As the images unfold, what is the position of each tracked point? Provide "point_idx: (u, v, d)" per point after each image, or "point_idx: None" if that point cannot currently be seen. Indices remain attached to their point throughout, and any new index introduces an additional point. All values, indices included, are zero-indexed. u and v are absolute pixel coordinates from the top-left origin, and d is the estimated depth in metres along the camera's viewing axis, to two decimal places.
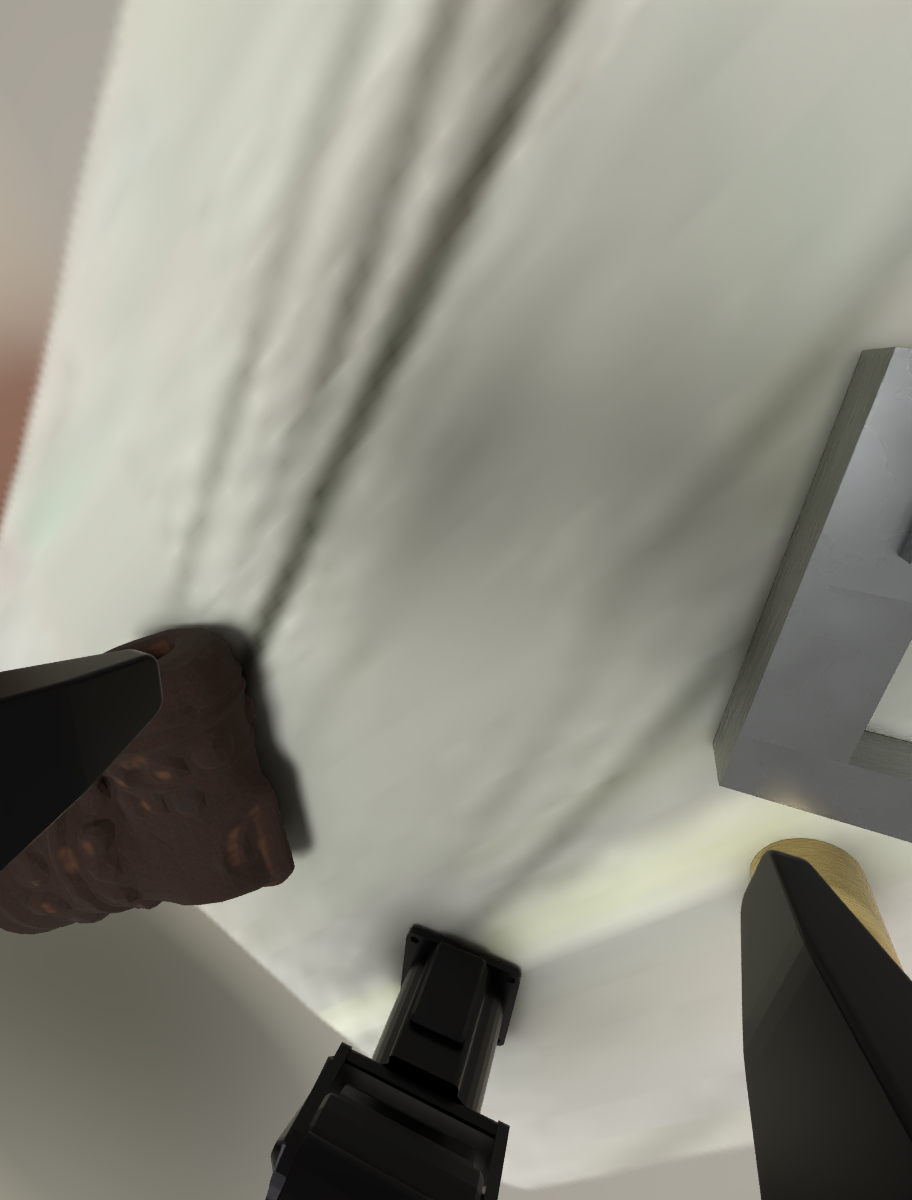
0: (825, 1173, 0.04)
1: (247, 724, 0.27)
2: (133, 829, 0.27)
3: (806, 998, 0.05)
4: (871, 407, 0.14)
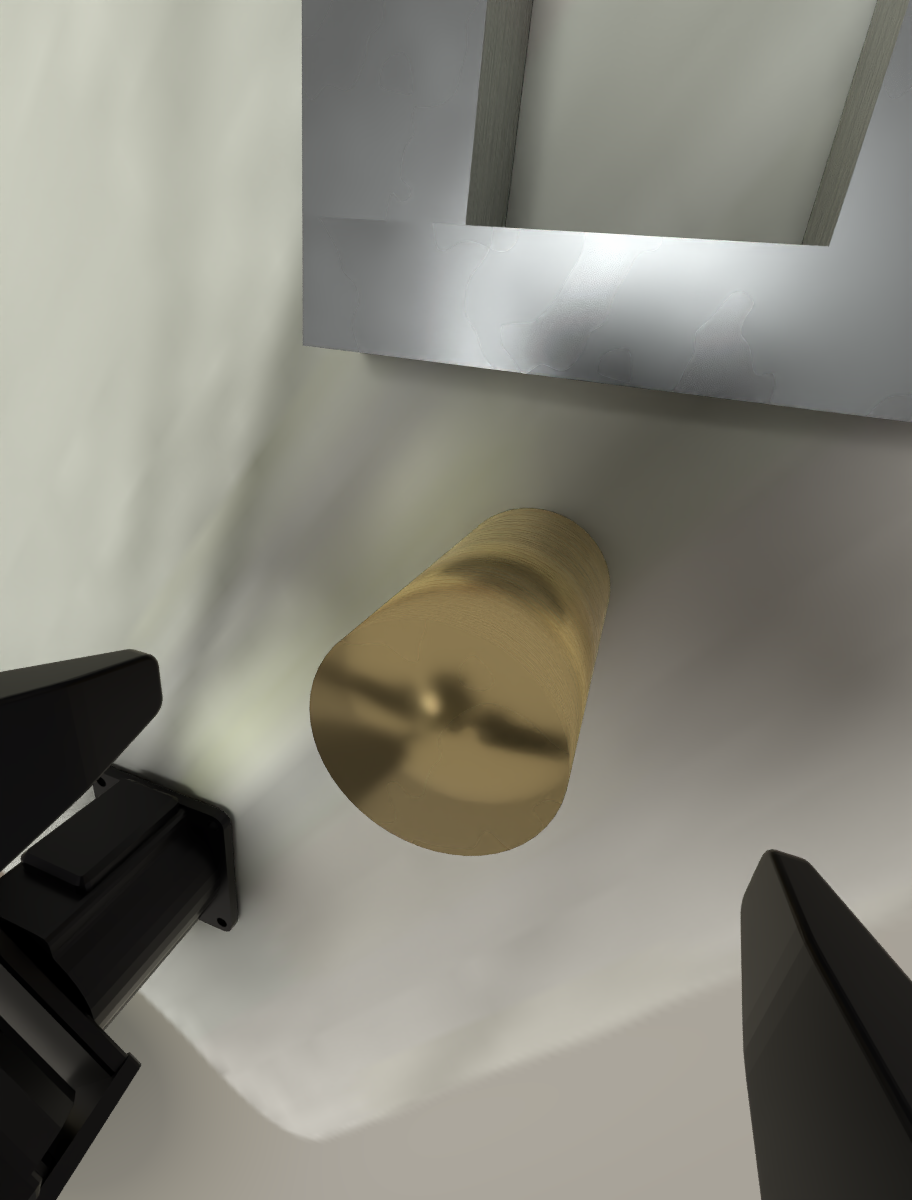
0: (825, 1173, 0.04)
1: None
2: None
3: (806, 998, 0.05)
4: None
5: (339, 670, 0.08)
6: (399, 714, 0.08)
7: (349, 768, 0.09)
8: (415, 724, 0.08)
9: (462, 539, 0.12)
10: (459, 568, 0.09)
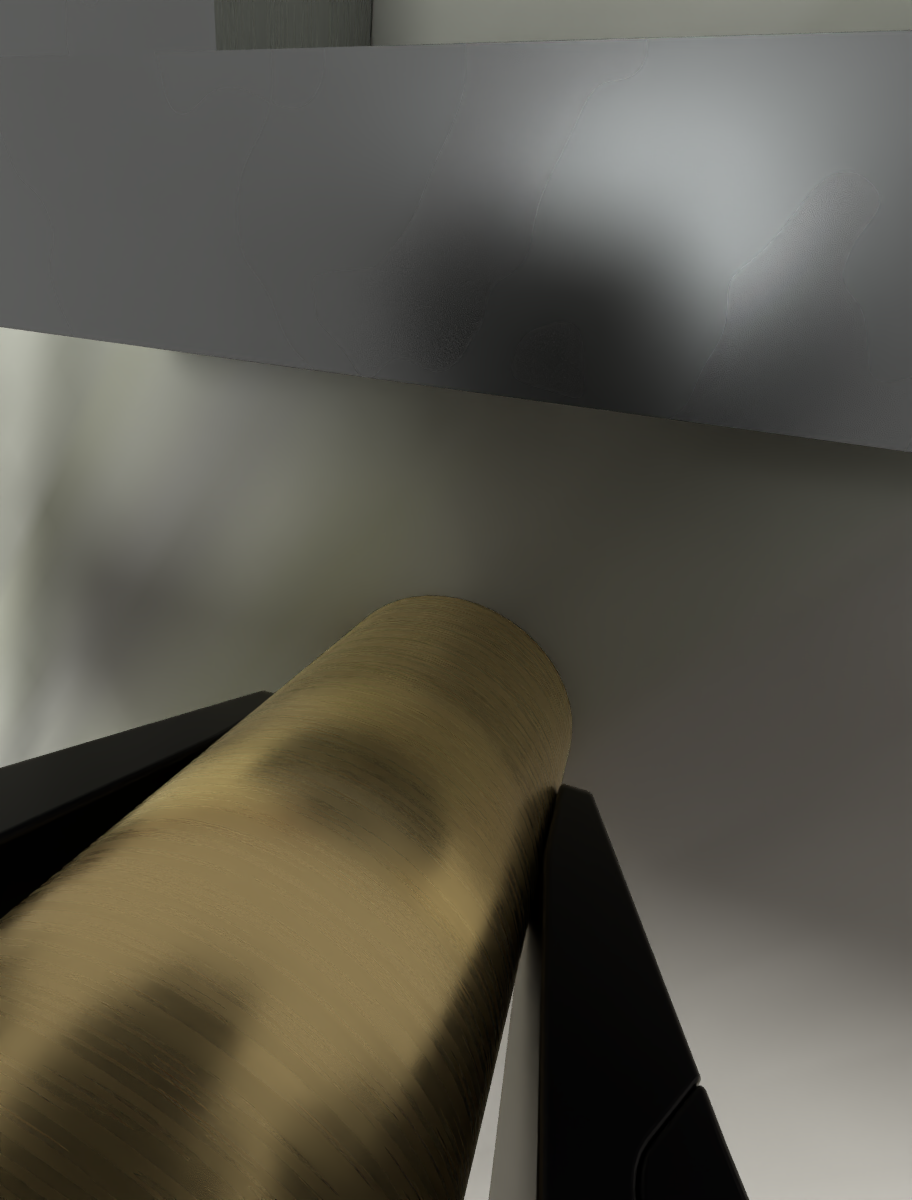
0: (519, 1039, 0.05)
1: None
2: None
3: (536, 898, 0.05)
4: None
5: None
6: None
7: None
8: None
9: (312, 662, 0.07)
10: (190, 822, 0.04)
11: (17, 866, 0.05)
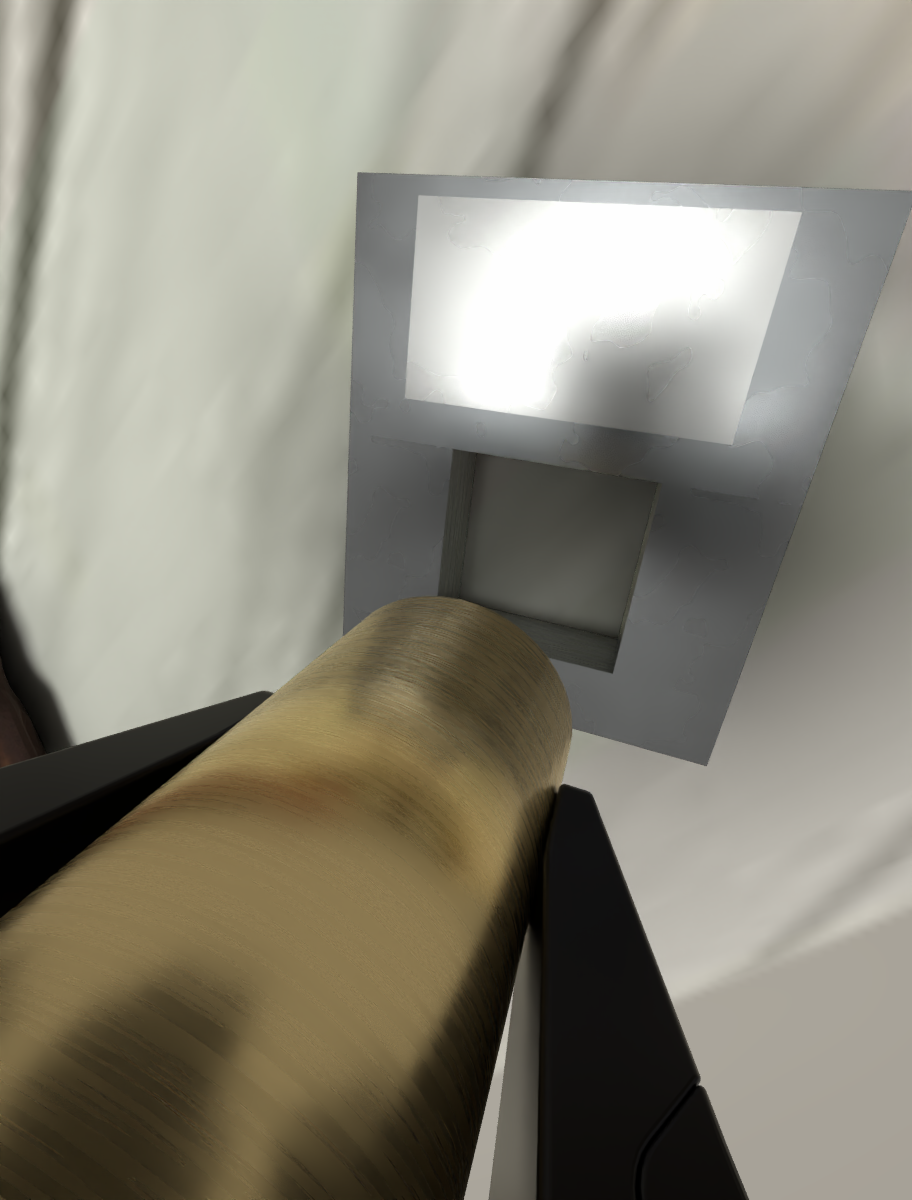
0: (519, 1038, 0.05)
1: None
2: None
3: (536, 898, 0.05)
4: None
5: None
6: None
7: None
8: None
9: (310, 663, 0.07)
10: (186, 825, 0.04)
11: (19, 865, 0.05)
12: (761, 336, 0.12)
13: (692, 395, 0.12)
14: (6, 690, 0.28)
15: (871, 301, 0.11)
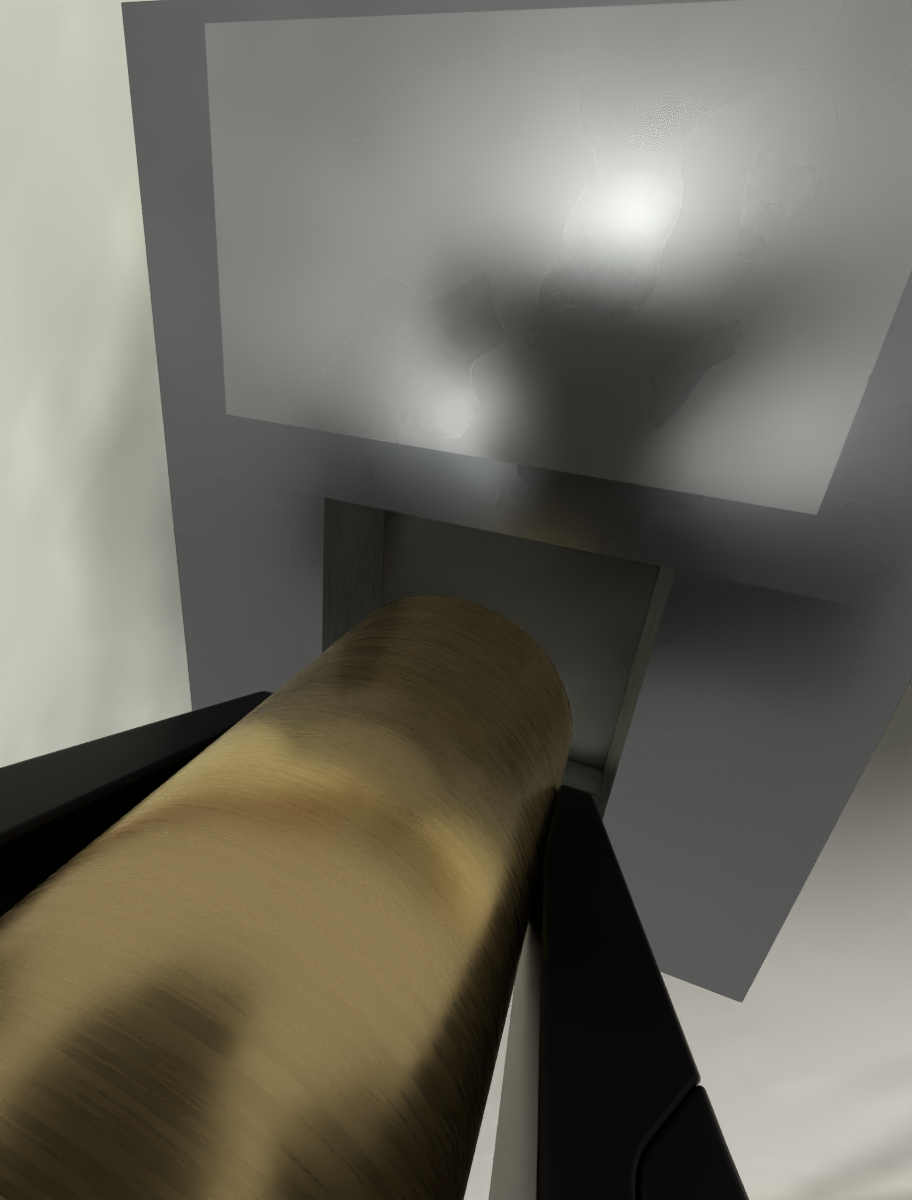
0: (519, 1039, 0.05)
1: None
2: None
3: (536, 898, 0.05)
4: (135, 134, 0.08)
5: None
6: None
7: None
8: None
9: None
10: (187, 824, 0.04)
11: (18, 865, 0.05)
12: (894, 293, 0.05)
13: (741, 417, 0.06)
14: None
15: None
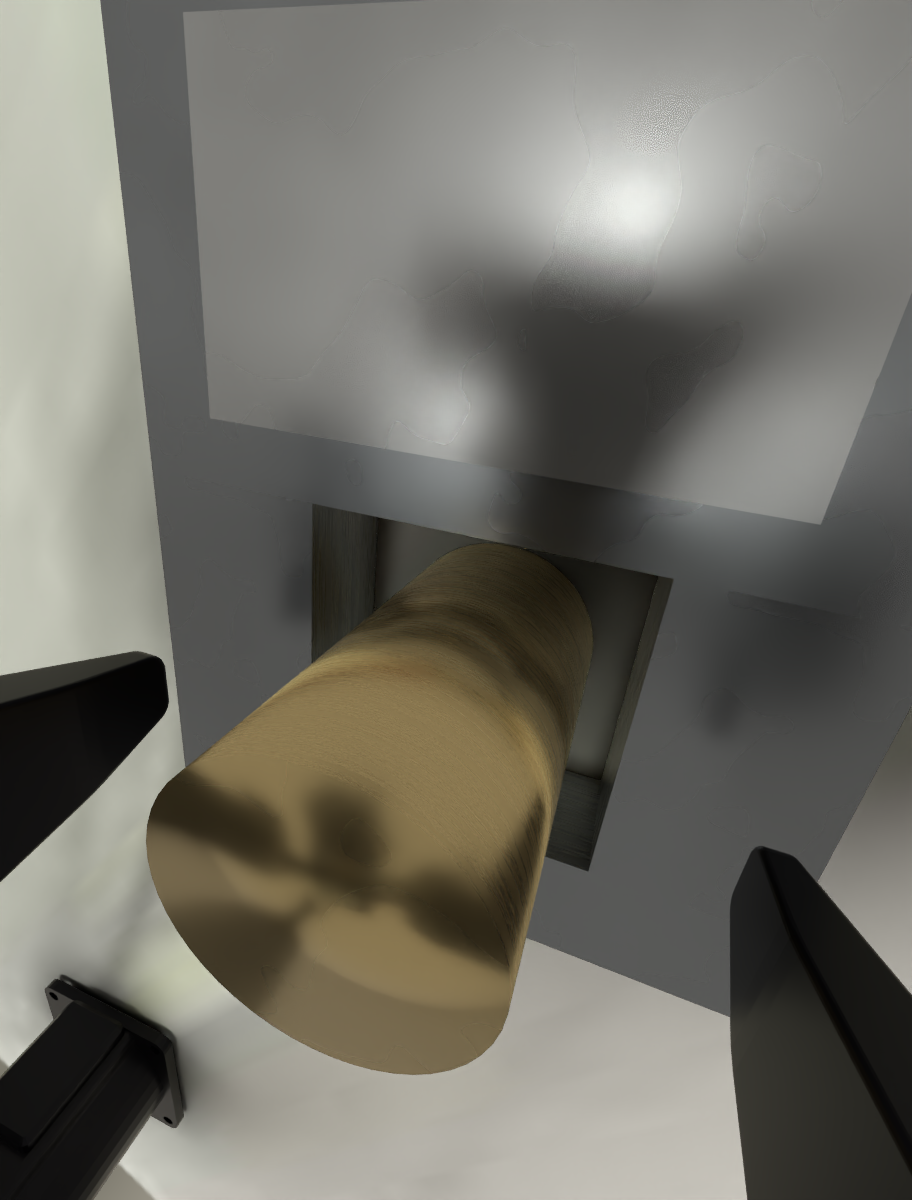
0: (807, 1165, 0.04)
1: None
2: None
3: (791, 992, 0.05)
4: (115, 129, 0.08)
5: (179, 815, 0.05)
6: (266, 882, 0.05)
7: (209, 939, 0.06)
8: (288, 898, 0.05)
9: None
10: (373, 648, 0.07)
11: None
12: (902, 294, 0.05)
13: (741, 422, 0.06)
14: None
15: None
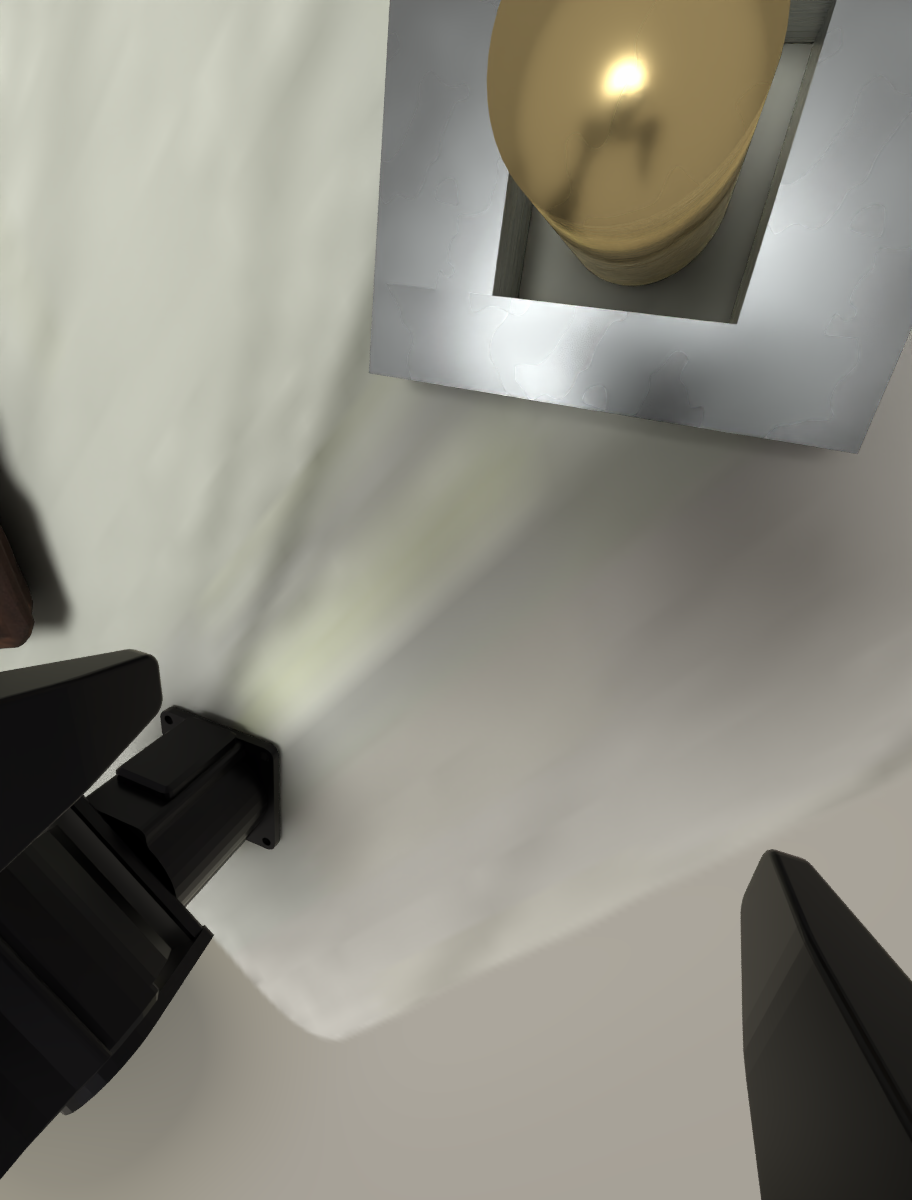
0: (825, 1173, 0.04)
1: None
2: None
3: (806, 998, 0.05)
4: None
5: None
6: (594, 19, 0.08)
7: (524, 133, 0.08)
8: (611, 27, 0.08)
9: None
10: None
11: None
12: None
13: None
14: None
15: None
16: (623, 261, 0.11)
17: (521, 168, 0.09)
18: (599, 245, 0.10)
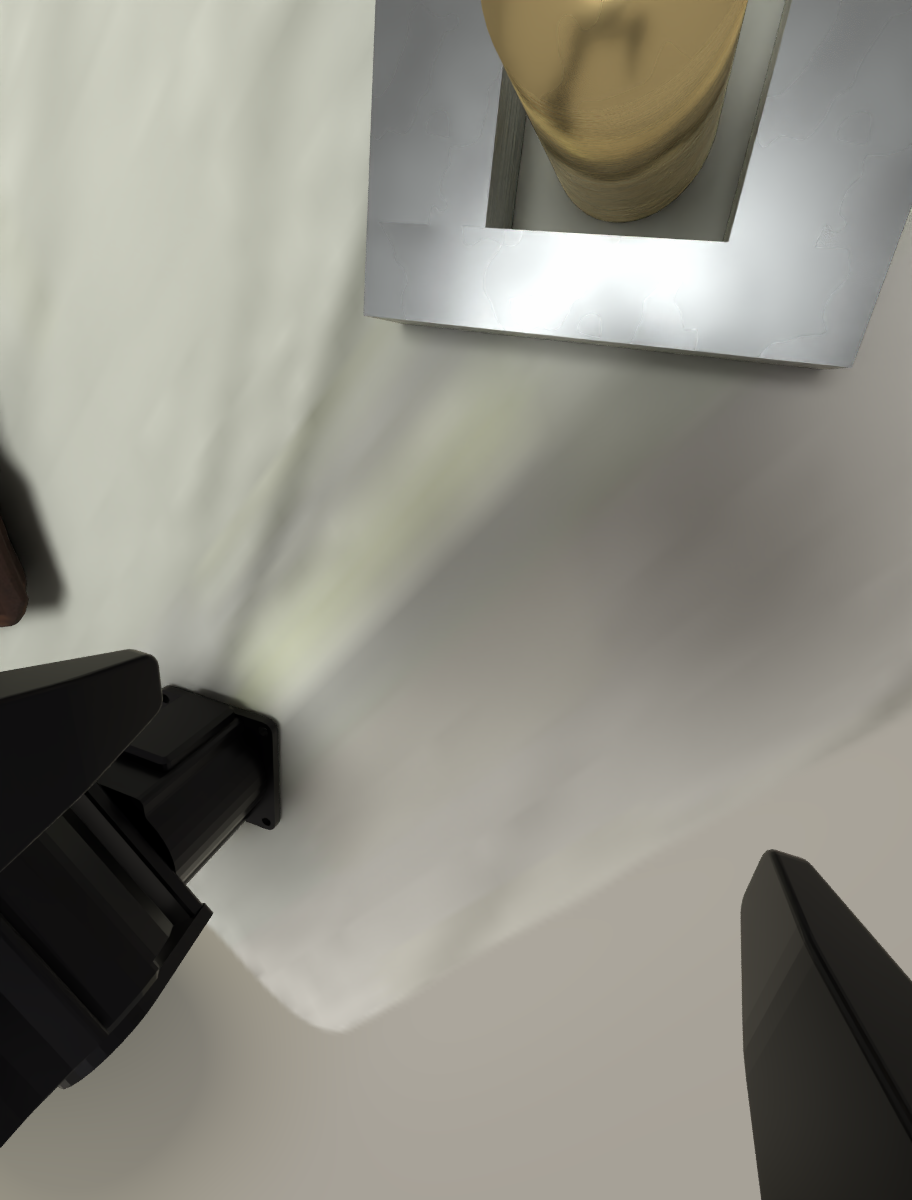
0: (825, 1173, 0.04)
1: None
2: None
3: (806, 998, 0.05)
4: None
5: None
6: None
7: (516, 19, 0.08)
8: None
9: None
10: None
11: None
12: None
13: None
14: None
15: None
16: (615, 175, 0.11)
17: (514, 55, 0.09)
18: (591, 147, 0.10)
